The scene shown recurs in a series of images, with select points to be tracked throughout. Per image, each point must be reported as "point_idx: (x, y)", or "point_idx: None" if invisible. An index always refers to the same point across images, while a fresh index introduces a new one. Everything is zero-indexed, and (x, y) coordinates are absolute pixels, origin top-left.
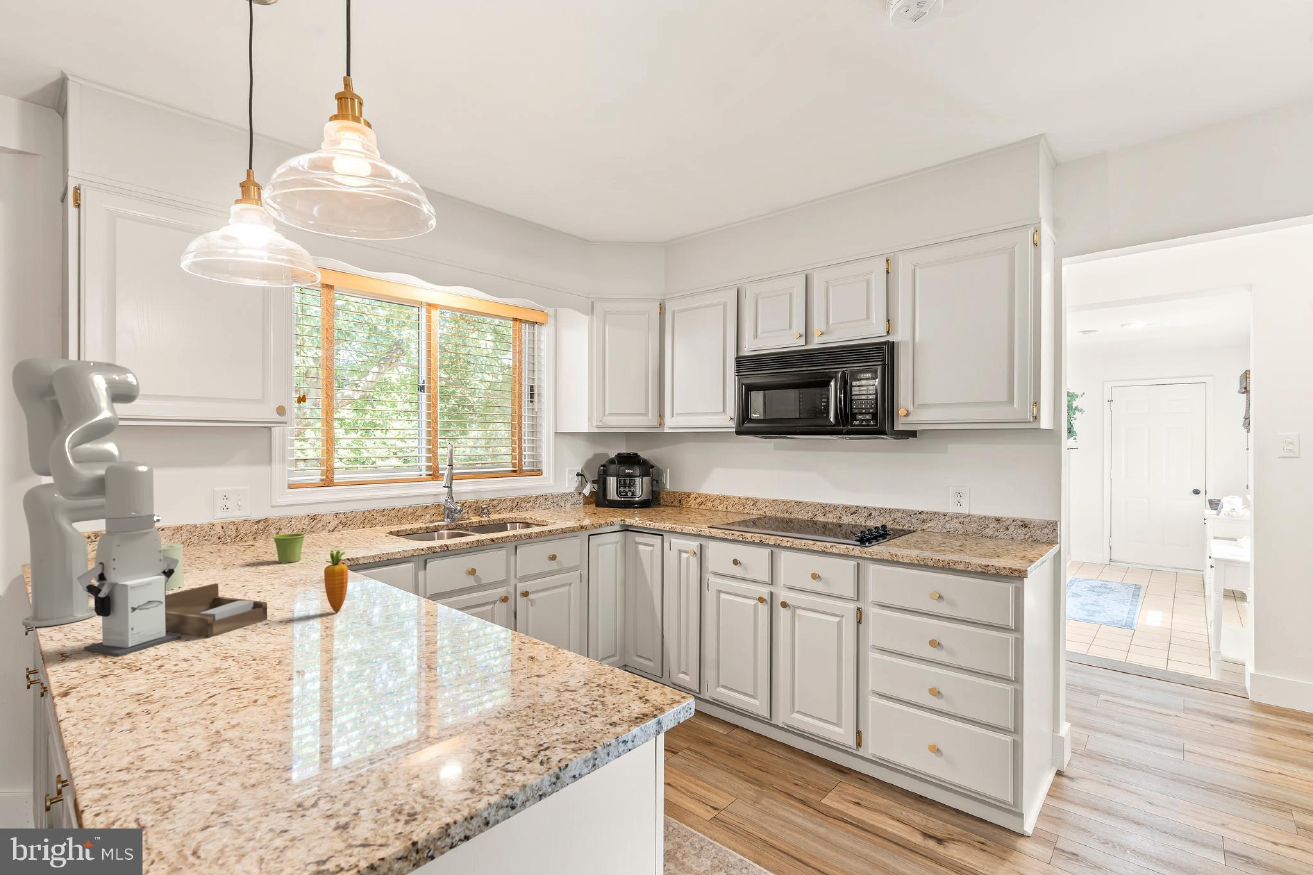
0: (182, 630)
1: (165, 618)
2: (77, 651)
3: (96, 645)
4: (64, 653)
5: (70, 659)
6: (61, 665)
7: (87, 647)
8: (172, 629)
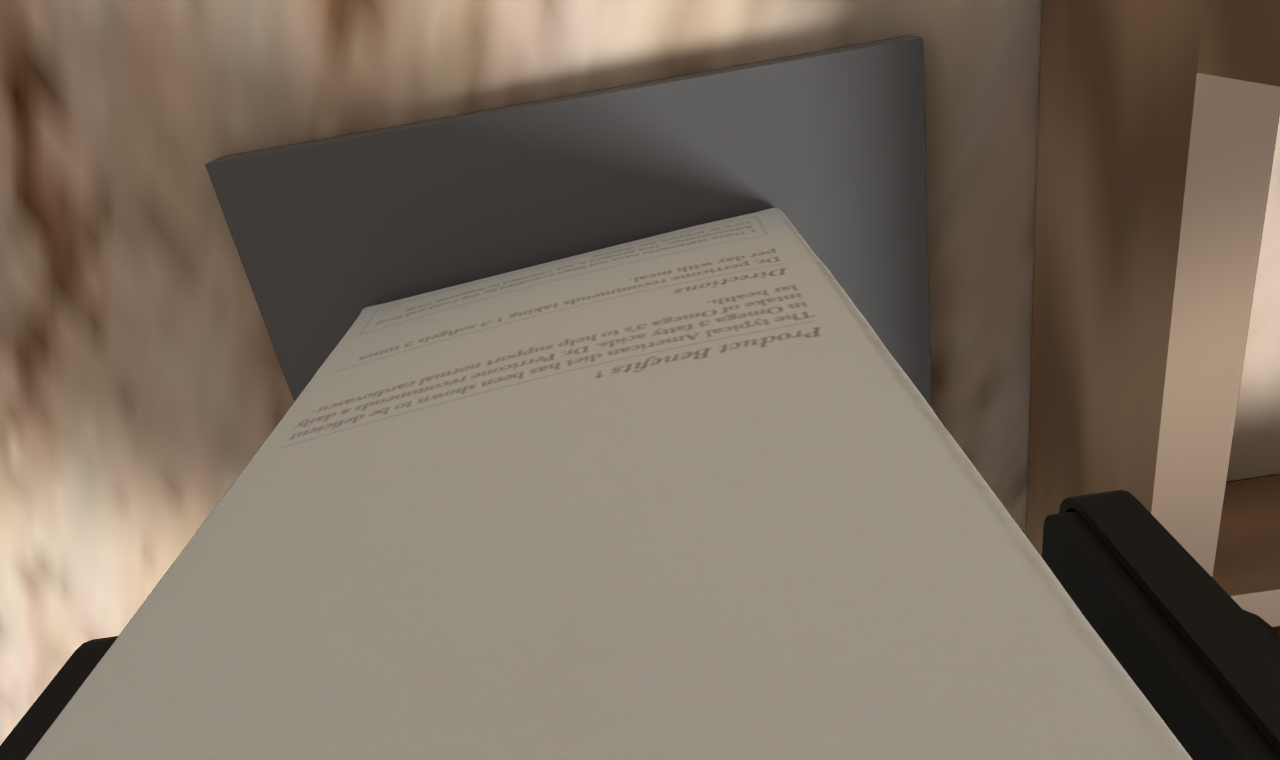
0: (1043, 498)
1: (1122, 252)
2: (162, 145)
3: (320, 237)
4: (40, 90)
5: (88, 401)
6: (18, 521)
7: (234, 230)
8: (1045, 341)
